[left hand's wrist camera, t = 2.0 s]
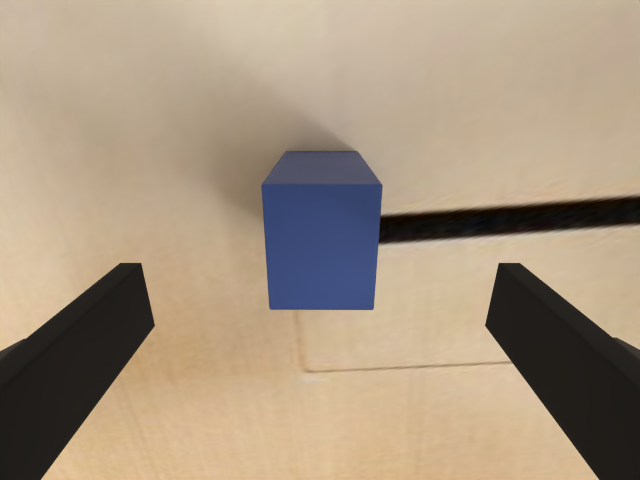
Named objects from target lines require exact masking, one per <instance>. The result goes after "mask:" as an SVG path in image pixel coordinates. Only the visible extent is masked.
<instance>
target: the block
mask: <svg viewBox="0 0 640 480" xmlns="http://www.w3.org/2000/svg"><path fill="white" fill-rule="evenodd" d="M381 198H382V184H381V183H380V181H379V180H378V179H377V177H376V176H375V174H374V173H373V172H372V170H371V169H370V168H369V166H368V165H367V164H366V162H365V161H364V159H363V158H362V157H361V155H360V154H359V153H358V152H351V151H286V152H285V153H284V155H283V156H282V158H281V159H280V160H279V162H278V163H277V164H276V166H275V167H274V169H273V170H272V171H271V173H270V174H269V175H268V177H267V178H266V180H265V181H264V182H263V184H262V200H263V215H264V231H265V247H266V262H267V278H268V293H269V308H270V309H273V310H373V309H374V297H375V283H376V268H377V254H378V240H379V226H380V212H381Z"/></svg>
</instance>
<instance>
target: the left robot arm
mask: <svg viewBox="0 0 640 480" xmlns="http://www.w3.org/2000/svg"><path fill="white" fill-rule="evenodd" d="M154 326H155V324H154V320H153V315H152V311H151V306H150V301H149V297H148V292H147V288H146V283H145V279H144V274H143V269H142V265H141V263H120V264H119V265H117V266H116V267H115V268H114V269H112V270H111V271H110V272H109V273H107V274H106V275H105V276H104V277H102V278H101V279H100V280H99V281H97V282H96V283H95V284H94V285H92V286H91V287H90V288H89V289H87V290H86V291H85V292H84V293H82V294H81V295H80V296H79V297H77V298H76V299H75V300H74V301H72V302H71V303H70V304H69V305H67V306H66V307H65V308H64V309H62V310H61V311H60V312H59V313H57V314H56V315H55V316H54V317H52V318H51V319H50V320H49V321H48V322H46V323H45V324H44V325H43V326H41V327H40V328H39V329H38V330H36V331H35V332H34V333H33V334H31V335H30V336H29V337H28V338H26V339H23V340H21V341H19V342H17V343H15V344H13V345H11V346H10V347H8V348H6V349H4V350H2V351H0V480H41V479H42V477H43V476H44V475H45V473H46V472H47V470H48V469H49V468H50V466H51V465H52V464H53V462H54V461H55V460H56V458H57V457H58V456H59V454H60V453H61V452H62V450H63V449H64V448H65V446H66V445H67V444H68V442H69V441H70V439H71V438H72V437H73V435H74V434H75V433H76V431H77V430H78V429H79V427H80V426H81V425H82V423H83V422H84V421H85V419H86V418H87V417H88V415H89V414H90V412H91V411H92V410H93V408H94V407H95V406H96V404H97V403H98V402H99V400H100V399H101V398H102V396H103V395H104V394H105V392H106V391H107V390H108V388H109V387H110V385H111V384H112V383H113V381H114V380H115V379H116V377H117V376H118V375H119V373H120V372H121V371H122V369H123V368H124V367H125V365H126V364H127V363H128V361H129V360H130V359H131V357H132V356H133V354H134V353H135V352H136V350H137V349H138V348H139V346H140V345H141V344H142V342H143V341H144V340H145V338H146V337H147V336H148V334H149V333H150V332H151V330H152V329H153V327H154ZM485 326H486V327H487V329H488V330H489V332H490V333H491V334H492V336H493V337H494V338H495V340H496V341H497V342H498V344H499V345H500V346H501V348H502V349H503V350H504V352H505V353H506V354H507V356H508V357H509V359H510V360H511V361H512V363H513V364H514V365H515V367H516V368H517V369H518V371H519V372H520V373H521V375H522V376H523V377H524V379H525V380H526V381H527V383H528V384H529V385H530V387H531V388H532V390H533V391H534V392H535V394H536V395H537V396H538V398H539V399H540V400H541V402H542V403H543V404H544V406H545V407H546V408H547V410H548V411H549V412H550V414H551V415H552V417H553V418H554V419H555V421H556V422H557V423H558V425H559V426H560V427H561V429H562V430H563V431H564V433H565V434H566V435H567V437H568V438H569V439H570V441H571V442H572V444H573V445H574V446H575V448H576V449H577V450H578V452H579V453H580V454H581V456H582V457H583V458H584V460H585V461H586V462H587V464H588V465H589V466H590V468H591V469H592V470H593V472H594V473H595V475H596V476H597V477H598V479H599V480H640V350H639V349H637V348H635V347H633V346H631V345H630V344H628V343H626V342H624V341H622V340H620V339H618V338H612V337H611V336H610V335H609V334H607V333H606V332H605V331H604V330H602V329H601V328H600V327H599V326H597V325H596V324H595V323H594V322H592V321H591V320H590V319H589V318H588V317H586V316H585V315H584V314H583V313H581V312H580V311H579V310H578V309H576V308H575V307H574V306H573V305H571V304H570V303H569V302H568V301H566V300H565V299H564V298H563V297H561V296H560V295H559V294H558V293H556V292H555V291H554V290H553V289H551V288H550V287H549V286H548V285H546V284H545V283H544V282H543V281H541V280H540V279H539V278H538V277H536V276H535V275H534V274H533V273H531V272H530V271H529V270H528V269H526V268H525V267H524V266H523V265H521V264H520V263H499V265H498V269H497V274H496V279H495V283H494V288H493V292H492V297H491V301H490V306H489V311H488V315H487V320H486V324H485Z"/></svg>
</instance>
